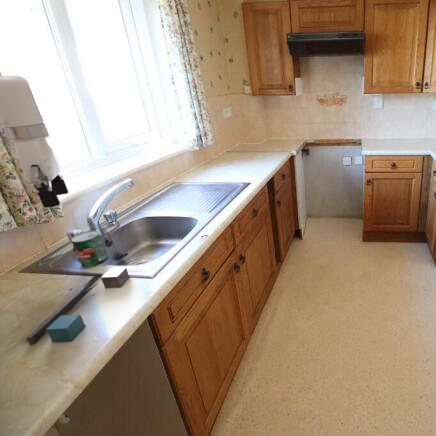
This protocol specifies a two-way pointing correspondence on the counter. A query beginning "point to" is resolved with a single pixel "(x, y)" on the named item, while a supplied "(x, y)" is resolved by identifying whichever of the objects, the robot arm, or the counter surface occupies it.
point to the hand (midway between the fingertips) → (57, 199)
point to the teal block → (65, 328)
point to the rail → (62, 310)
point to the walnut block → (115, 277)
